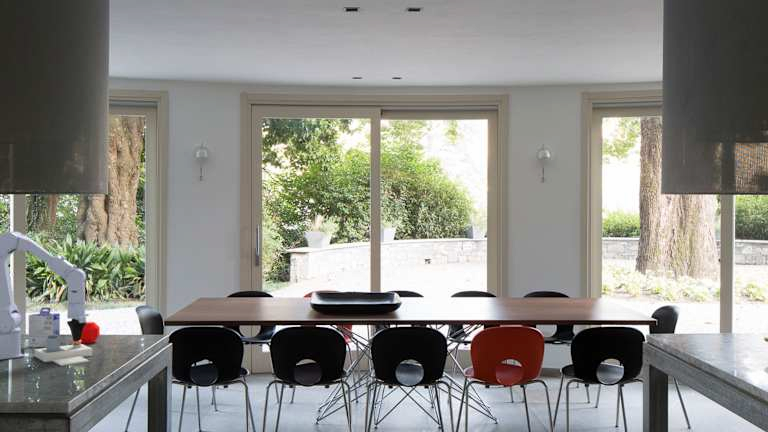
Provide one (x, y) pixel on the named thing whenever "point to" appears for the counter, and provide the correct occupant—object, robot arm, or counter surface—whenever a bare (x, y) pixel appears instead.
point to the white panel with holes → (63, 353)
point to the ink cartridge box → (43, 327)
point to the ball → (90, 332)
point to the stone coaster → (70, 360)
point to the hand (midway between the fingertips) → (76, 340)
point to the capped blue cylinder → (52, 343)
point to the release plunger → (76, 344)
